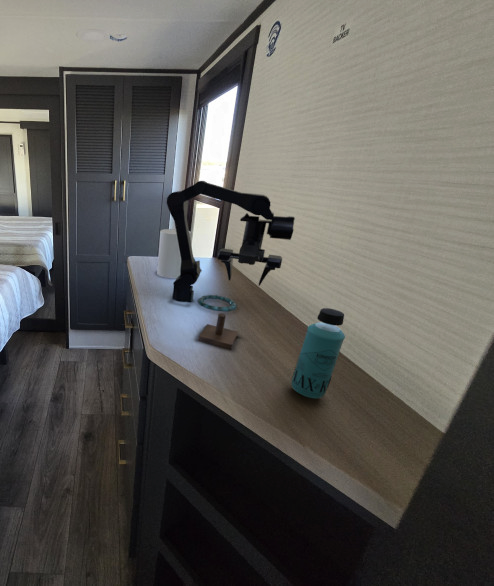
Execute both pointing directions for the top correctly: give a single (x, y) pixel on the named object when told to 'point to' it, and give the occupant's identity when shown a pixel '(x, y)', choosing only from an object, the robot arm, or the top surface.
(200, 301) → the teal ring
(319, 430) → the top surface
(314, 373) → the beverage bottle
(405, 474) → the top surface
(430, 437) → the top surface
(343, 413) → the top surface
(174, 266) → the canister
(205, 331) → the peg stand
